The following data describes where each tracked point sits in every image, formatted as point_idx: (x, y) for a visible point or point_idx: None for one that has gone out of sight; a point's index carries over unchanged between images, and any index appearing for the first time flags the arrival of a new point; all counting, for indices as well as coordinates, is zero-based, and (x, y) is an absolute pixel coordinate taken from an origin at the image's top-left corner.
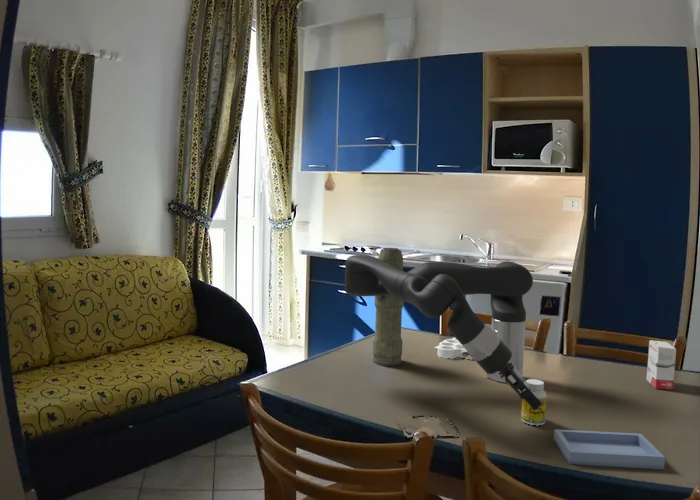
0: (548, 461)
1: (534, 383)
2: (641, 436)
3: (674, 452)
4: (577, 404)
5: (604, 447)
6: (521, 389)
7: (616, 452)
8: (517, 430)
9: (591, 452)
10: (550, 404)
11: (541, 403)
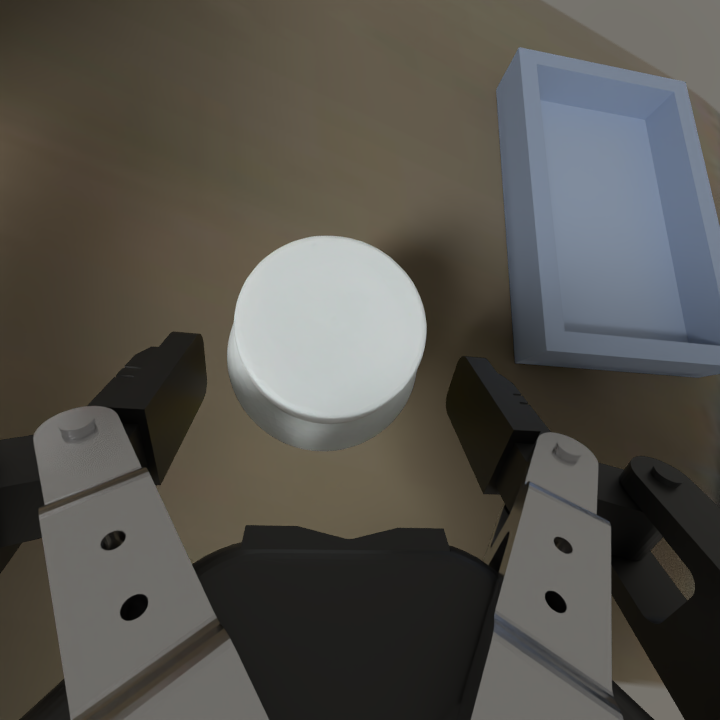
0: (698, 447)
1: (394, 345)
2: (542, 58)
3: (528, 31)
4: (78, 98)
5: (569, 208)
6: (185, 425)
7: (701, 204)
8: (430, 499)
9: None
10: (66, 219)
11: (484, 358)
